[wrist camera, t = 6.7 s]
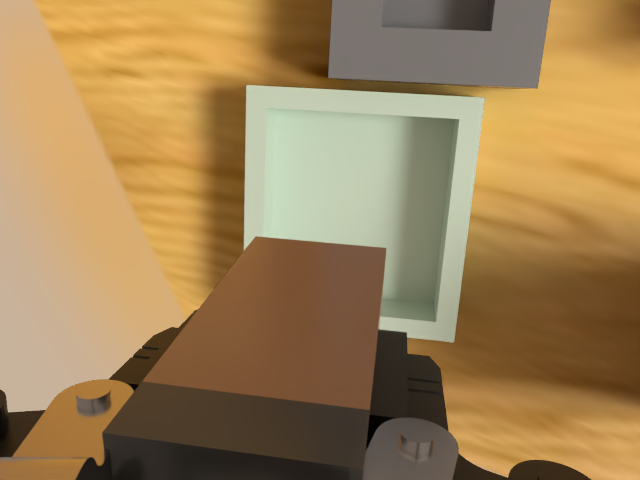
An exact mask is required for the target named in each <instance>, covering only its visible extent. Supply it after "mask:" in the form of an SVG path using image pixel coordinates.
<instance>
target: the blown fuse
mask: <svg viewBox="0 0 640 480" xmlns="http://www.w3.org/2000/svg"><path fill="white" fill-rule="evenodd" d="M385 260H386V248H382V247H370V246H359V245H348V244H337V243H325V242H314V241H303V240H291V239H280V238H269V237H258V236H255V238H254V239H253V240H252V241H251V243H250V244H249V245H248V246H247V248H246V249H245V250H244V252H243V253H242V254H241V255H240V257H239V258H238V259H237V261H236V262H235V263H234V264H233V266H232V267H231V268H230V270H229V271H228V272H227V273H226V275H225V276H224V277H223V278H222V280H221V281H220V282H219V284H218V285H217V286H216V287H215V289H214V290H213V291H212V293H211V294H210V295H209V296H208V298H207V299H206V300H205V302H204V303H203V304H202V305H201V307H200V308H199V309H198V310H197V312H196V313H195V314H194V316H193V317H192V318H191V319H190V321H189V322H188V323H187V325H186V326H185V327H184V328H183V330H182V331H181V332H180V334H179V335H178V336H177V337H176V339H175V340H174V341H173V343H172V344H171V345H170V346H169V348H168V349H167V350H166V351H165V353H164V354H163V355H162V357H161V358H160V359H159V360H158V362H157V363H156V364H155V366H154V367H153V368H152V369H151V371H150V372H149V373H148V375H147V376H146V377H145V378H144V380H143V381H142V382H141V383H140V385H139V386H138V387H137V389H136V390H135V391H134V392H133V394H132V395H131V396H130V398H129V399H128V400H127V401H126V403H125V404H124V405H123V407H122V408H121V409H120V410H119V412H118V413H117V414H116V415H115V417H114V418H113V419H112V421H111V422H110V423H109V424H108V426H107V427H106V428H105V430H104V431H103V432H102V437H103V445H104V449H110V456H111V467H112V478H111V480H363V473H364V463H365V454H366V450H367V441H368V429H369V417H370V407H371V398H372V388H373V379H374V369H375V360H376V350H377V341H378V331H379V329H380V318H381V307H382V295H383V283H384V272H385Z"/></svg>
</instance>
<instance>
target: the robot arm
mask: <svg viewBox="0 0 640 480" xmlns="http://www.w3.org/2000/svg"><path fill="white" fill-rule="evenodd" d="M196 312H197V310H195V311H194V312H193V313H192V314H191V315H190V316H189V317H188V319H187V320H186V321H185V322H184V323H183V324H182V325H181V326H180V327H179V328H174V327H171V328H169V329H167V330H165V331H163V332H160V333H158V334H156V335H154V336H153V337H152V338H151V339H150V340H148V341H147V342H146V343H145V344H144V345H143V346H142V349H139V350H138V351H137V352H136V353H135V354H134V356H133V358H130V359H129V360H128V361H127V362H126V363H125V364H124V365H123V366H122V367H121V368H120V369H119V370H118V371H117V372H116V373H115V374H114V375H112V377H110V378H109V379H108V380H106V379H105V380H92V381H87V382H83V383H79V384H76V385H74V386H71V387H69V388H67V389H65V390H64V391H62V392H61V393H59V394H58V395H57V396H56V397H55V398H54V400H53V401H52V402H51V404H50V405H49V406H48V408H47V409H46V410H42V411H25V412H10V413H8V410H7V401H6V395H5V393H4V392H3V391H2V390H0V480H111V478H112V467H111V456H110V449H104V445H103V437H102V432H103V431H104V430H105V428H106V427H107V426H108V424H109V423H110V422H111V421H112V419H113V418H114V417H115V415H116V414H117V413H118V412H119V410H120V409H121V408H122V407H123V405H124V404H125V403H126V401H127V400H128V399H129V398H130V396H131V395H132V394H133V392H134V391H135V390H136V389H137V387H138V386H139V385H140V383H141V382H142V381H143V380H144V378H145V377H146V376H147V375H148V373H149V372H150V371H151V369H152V368H153V367H154V366H155V364H156V363H157V362H158V360H159V359H160V358H161V357H162V355H163V354H164V353H165V351H166V350H167V349H168V348H169V346H170V345H171V344H172V343H173V341H174V340H175V339H176V337H177V336H178V335H179V334H180V332H181V331H182V330H183V328H184V327H185V326H186V325H187V323H188V322H189V321H190V319H191V318H192V317H193V316H194V314H195V313H196ZM458 449H459V448H458V443H457V441H456V439H455V438H454V437H453V436H452V434H451V433H449V432H448V424H447V416H446V409H445V401H444V395H443V386H442V378H441V371H440V368H439V367H438V366H437V364H436V363H435V362H434V361H433V360H432V359H431V358H430V357H429V356H422V355H413V354H407V332H399V331H390V330H381V329H379V331H378V341H377V350H376V360H375V369H374V379H373V388H372V398H371V407H370V417H369V429H368V441H367V450H366V454H365V463H364V473H363V480H591V479H589V478H588V477H587V476H585V475H584V474H582V473H580V472H578V471H577V470H575V469H572V468H570V467H568V466H565V465H562V464H559V463H555V462H551V461H545V460H529V461H524V462H521V463H518V464H517V465H515V466H514V467H513V468H512V469H511V471H510V473H509V477H508V478H507V477H504V476H501V475H498V474H495V473H492V472H489V471H487V470H484V469H482V468H480V467H478V466H476V465H474V464H472V463H471V462H469V461H467V460H466V459H465V458H463V457H462V456H461V455H460V454H459V453H458Z"/></svg>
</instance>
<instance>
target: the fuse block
mask: <svg viewBox="0 0 640 480" xmlns="http://www.w3.org/2000/svg"><path fill="white" fill-rule="evenodd" d="M550 2H551V0H332V14H331V33H330V52H329V71H328V78H332V79H338V80H356V81H376V82H395V83H415V84H435V85H454V86H474V87H493V88H513V89H531V88H538V83H539V76H540V69H541V63H542V56H543V49H544V43H545V36H546V29H547V22H548V16H549V9H550Z"/></svg>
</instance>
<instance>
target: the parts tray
mask: <svg viewBox="0 0 640 480" xmlns="http://www.w3.org/2000/svg"><path fill="white" fill-rule="evenodd" d="M484 101H485V98H483V97H466V96H448V95H429V94H410V93H391V92H372V91H354V90H335V89H316V88H297V87H279V86H259V85H246V137H245V203H244V250H245V249H246V248H247V246H248V245H249V244H250V243H251V241H252V240H253V239H254V238H255V236H258V237H269V238H280V239H291V240H303V241H314V242H325V243H337V244H348V245H359V246H370V247H382V248H386V260H385V272H384V283H383V295H382V307H381V318H380V329H381V330H390V331H399V332H407V338H417V339H426V340H435V341H444V342H454V339H455V331H456V323H457V316H458V308H459V300H460V292H461V284H462V276H463V268H464V260H465V252H466V244H467V236H468V228H469V220H470V212H471V204H472V196H473V188H474V180H475V173H476V165H477V157H478V149H479V141H480V133H481V125H482V117H483V109H484Z"/></svg>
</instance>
